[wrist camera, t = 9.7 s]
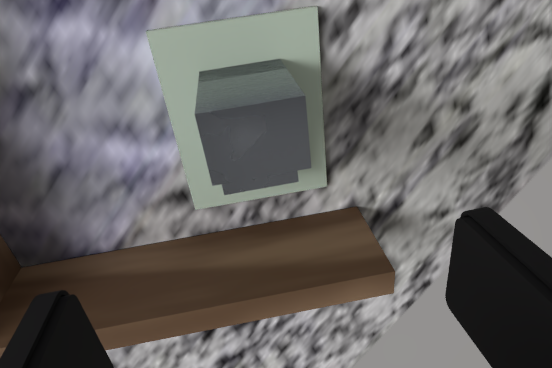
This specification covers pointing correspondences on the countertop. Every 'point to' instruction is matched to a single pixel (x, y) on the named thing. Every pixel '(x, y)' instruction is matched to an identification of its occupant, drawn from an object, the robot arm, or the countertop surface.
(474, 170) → the countertop surface
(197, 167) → the pad
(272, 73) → the metal block
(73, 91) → the countertop surface
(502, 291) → the robot arm
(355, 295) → the wall
